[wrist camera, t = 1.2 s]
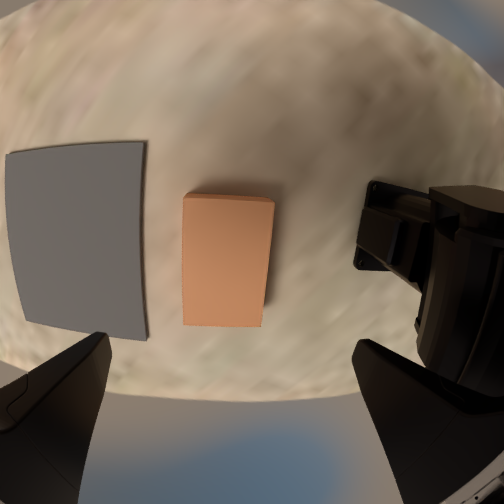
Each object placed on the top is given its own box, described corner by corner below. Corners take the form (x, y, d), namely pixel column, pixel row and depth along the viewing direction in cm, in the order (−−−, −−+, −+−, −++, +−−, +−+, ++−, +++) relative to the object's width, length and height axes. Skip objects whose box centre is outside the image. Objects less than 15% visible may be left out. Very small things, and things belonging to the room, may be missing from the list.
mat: (145, 142, 15) (143, 142, 14) (147, 338, 19) (146, 341, 19) (8, 154, 13) (5, 154, 12) (28, 318, 17) (26, 320, 17)
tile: (266, 196, 17) (274, 202, 15) (255, 307, 20) (260, 326, 17) (187, 192, 16) (183, 197, 14) (186, 305, 19) (183, 325, 17)
